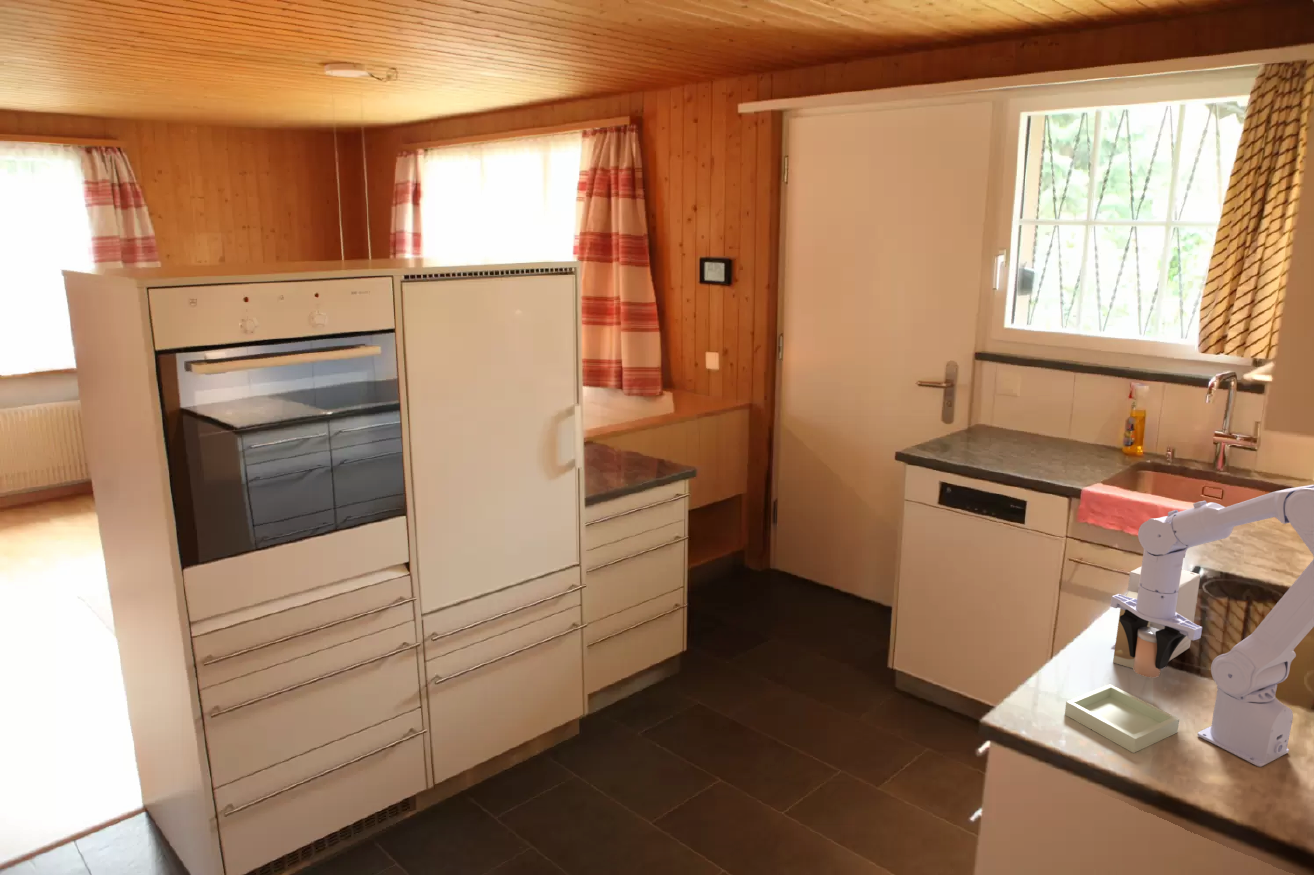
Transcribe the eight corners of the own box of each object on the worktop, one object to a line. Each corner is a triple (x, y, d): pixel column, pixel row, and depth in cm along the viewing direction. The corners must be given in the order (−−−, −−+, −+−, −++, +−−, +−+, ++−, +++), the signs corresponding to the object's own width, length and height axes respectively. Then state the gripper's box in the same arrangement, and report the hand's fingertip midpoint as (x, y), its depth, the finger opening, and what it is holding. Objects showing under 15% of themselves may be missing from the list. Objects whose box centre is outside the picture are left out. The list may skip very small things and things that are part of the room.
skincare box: (1120, 649, 166) (1128, 589, 163) (1146, 657, 163) (1155, 595, 160) (1111, 663, 161) (1120, 601, 158) (1138, 671, 158) (1147, 608, 155)
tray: (1177, 732, 140) (1179, 718, 139) (1133, 752, 135) (1135, 739, 134) (1107, 696, 150) (1109, 683, 150) (1064, 714, 145) (1066, 701, 144)
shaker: (1166, 673, 150) (1171, 634, 148) (1150, 680, 148) (1156, 640, 146) (1142, 662, 153) (1147, 624, 151) (1127, 669, 151) (1132, 630, 149)
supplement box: (1142, 630, 173) (1152, 558, 169) (1190, 648, 166) (1202, 573, 162) (1118, 644, 168) (1128, 570, 164) (1167, 663, 161) (1179, 586, 157)
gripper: (1217, 597, 142) (1205, 674, 146) (1132, 566, 154) (1123, 637, 158) (1191, 607, 139) (1179, 685, 142) (1106, 574, 151) (1097, 647, 155)
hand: (1148, 661), depth 150 cm, fingers closed on shaker, 4 cm apart
